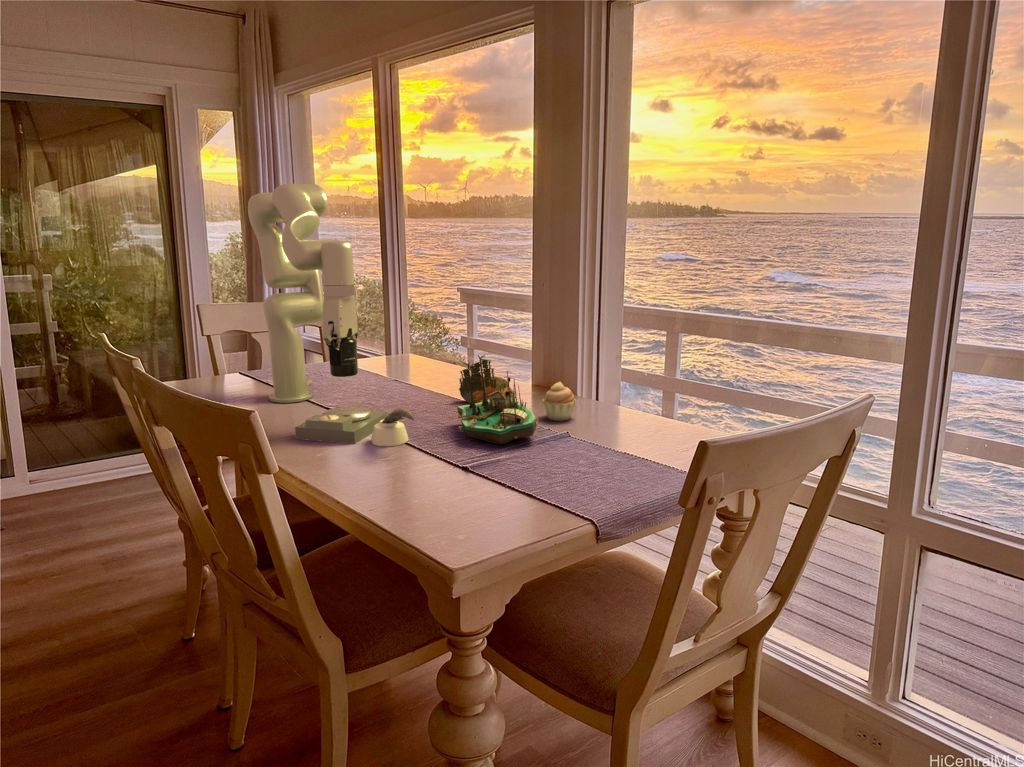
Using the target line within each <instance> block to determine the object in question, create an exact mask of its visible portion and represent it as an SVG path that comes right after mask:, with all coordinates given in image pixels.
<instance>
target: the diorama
mask: <svg viewBox="0 0 1024 767" xmlns="http://www.w3.org/2000/svg"><path fill="white" fill-rule="evenodd" d="M477 357H478V359H479V361H478V362H475V363H472V364H470V363H471V362H470V361H468V363H467V362H463V363H462V364H463V365H466V366H467V368H464V369H462V370H460V371H459V373H460V375H461V377H460V378H459V384H460V385H461V388H462V389H461V388H460V387H459V388H458V390H459V394H460V397H461V398H463V395H464V394H466V393H468V395H469V393H470V396H471V400H470V403H469V404H465V405H459V406H456V409H457V414H458V416H457V418H458V419H461V425H459V426H458V430H459V431H460V432H461V433H464V432H465V433H466V435H467V436H469V437H472V438H475V439H478V440H482V441H484V442H488V443H491V442H492V444H498V445H504V444H507V443H509V442H511V441H512V440H519V439H525V438H528V437H532V436H533V435H534V434H535V431H536V429H537V426H538V425H539V422H538V421H537V419H536V416H535V414H534V413H533V411H532V410H531V408H529V407H527V402H526V401H525V403H524V401H523V399H521V393H520V392H521V391H520V386H519V384H517V387H518V398H519V401H518V398H517V390H516V382H515V379H513V388H511V386H510V382H511V379H512V377H510V376H509V373H508V372H509V371H508V370H506V376H504V379H505V380H506V381H507V384H508V387H506V386H507V385H506V384H505V386H504V389H502V390H501V386H500V390H497V391H494V392H492V393H490V394H488V395H486V393H485V386H484V382H485V385H486V387H487V388H488V386H489V385H490V386H491V387H492V388H493V383H494V389H496V378H495V379H494V376H495V373H494V370H495V367H493V368H492V365H491V362H492V360H490V359H484V358H483V357H486V355H485V354H484V355H481V357H480V355H479V354H478V355H477ZM470 376H471V380H470ZM483 376H485V378H483ZM491 376H492V377H493V378H491ZM487 377H488V378H487ZM481 378H482V381H481ZM484 379H485V380H484ZM491 379H494V381H493V380H491ZM489 380H490V381H489ZM462 381H463V382H462ZM472 381H473V382H472ZM481 382H482V383H481ZM489 382H490V383H489ZM503 382H504V380H503ZM462 383H463V386H464V387H462ZM466 385H467V386H466ZM468 385H469V386H470V387H469V386H468ZM482 385H483V386H482ZM465 387H466V389H465ZM477 389H478V391H480V390H481V391H483V402H480V403H476V404H475V402H474V399H473V390H474V392H475V391H477ZM465 390H466V391H465ZM486 396H487V397H489V400H487V397H486Z"/></svg>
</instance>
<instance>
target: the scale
mask: <svg viewBox="0 0 1024 767" xmlns="http://www.w3.org/2000/svg"><path fill="white" fill-rule="evenodd" d="M323 413H324V412H322V413H321V414H315V415H313V416H311V417H309V418H307V419H305V421H304V422H303V423H300V424H298V425H297V426H295V427H294V430H295V431H294V432H295V439H296V440H303V439H308V440H307V441H315V440H322V441H321V442H327V441H333V442H332V443H340V442H342V443H341V444H354V445H355V444H358V443H359V442H360V441H362V440H363V439H365V438H366V437H368V436H369V435H372V433H373V429H374V426H375V425H376V424H377V423H380V421H381V420H383V419H385V417H386V416H388V414H387V411H385V412H384V411H371V416H370V417H368V418H366V419H364V420H360V421H355V422H352V417H338V416H336V415H326V416H324V415H323Z"/></svg>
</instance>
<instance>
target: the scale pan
mask: <svg viewBox="0 0 1024 767" xmlns="http://www.w3.org/2000/svg"><path fill="white" fill-rule="evenodd" d="M322 413H323V415H324V416H326V415H336V416H338V417H352V422H355V421H360V420H364V419H366V418H368V417H370V416H371V409H370V408H368V407H364V406H355V405H354V406H348V405H347V406H340V407H333V408H330V409H327V410H325V411H324V412H322Z"/></svg>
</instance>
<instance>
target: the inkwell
mask: <svg viewBox="0 0 1024 767" xmlns="http://www.w3.org/2000/svg"><path fill="white" fill-rule="evenodd" d="M403 418H407V419H409V420H412V421H415V419H414V417H413V415H412V414H411V412H410V411H409V410H408V409H406V408H402V407H401V408H396V409H394V410H393V411H391V412H390V413H388V414H387V416H386V417H385V419H383V420H381V421H380V423H377V424H376V425H375V426H374V429H373V433H371V439H370V443H371V444H372V445H374V446H376V447H377V446H378V447H395V446H397V447H398V446H401V445H404V444H406V443H408V442H409V440H410V437H409V434H408V432H407V428H406V425H405V423H403V422H400V420H403ZM407 441H408V442H407Z"/></svg>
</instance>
